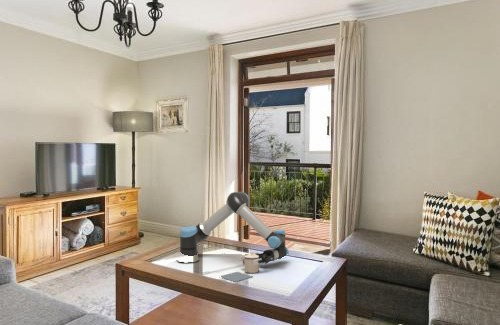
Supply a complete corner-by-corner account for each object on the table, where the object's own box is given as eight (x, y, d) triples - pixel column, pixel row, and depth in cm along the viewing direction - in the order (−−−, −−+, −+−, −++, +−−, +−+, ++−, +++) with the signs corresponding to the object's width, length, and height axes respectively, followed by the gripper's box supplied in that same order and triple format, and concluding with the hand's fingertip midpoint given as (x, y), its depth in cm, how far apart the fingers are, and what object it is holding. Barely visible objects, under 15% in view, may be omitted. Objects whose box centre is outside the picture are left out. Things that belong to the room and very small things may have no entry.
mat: (218, 277, 179) (218, 276, 179) (237, 272, 189) (237, 271, 189) (234, 282, 169) (234, 281, 169) (253, 277, 179) (253, 276, 179)
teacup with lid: (262, 271, 190) (262, 251, 191) (252, 274, 184) (252, 254, 185) (247, 267, 198) (247, 249, 199) (237, 270, 192) (238, 251, 193)
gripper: (284, 264, 196) (260, 270, 181) (257, 258, 213) (233, 263, 198) (284, 252, 196) (260, 257, 181) (257, 247, 213) (233, 251, 198)
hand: (246, 260), depth 189 cm, fingers closed on teacup with lid, 12 cm apart
